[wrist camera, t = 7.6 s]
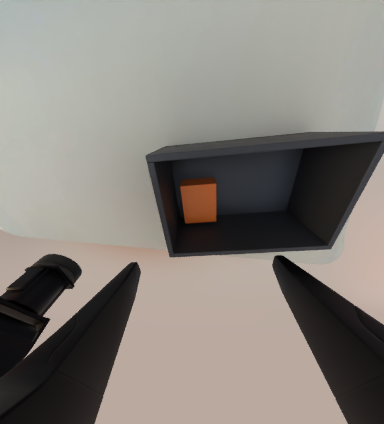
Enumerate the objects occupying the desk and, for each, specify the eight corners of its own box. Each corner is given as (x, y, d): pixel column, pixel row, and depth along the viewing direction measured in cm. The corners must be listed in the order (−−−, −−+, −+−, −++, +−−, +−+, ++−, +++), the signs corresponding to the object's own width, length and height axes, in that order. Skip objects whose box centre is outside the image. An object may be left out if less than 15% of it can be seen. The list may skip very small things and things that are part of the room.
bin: (286, 211, 20) (331, 249, 14) (177, 218, 21) (169, 257, 14) (309, 132, 15) (396, 131, 9) (165, 146, 16) (145, 155, 10)
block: (214, 211, 20) (216, 221, 18) (186, 213, 20) (185, 223, 18) (213, 177, 17) (216, 183, 15) (181, 179, 17) (179, 186, 15)
